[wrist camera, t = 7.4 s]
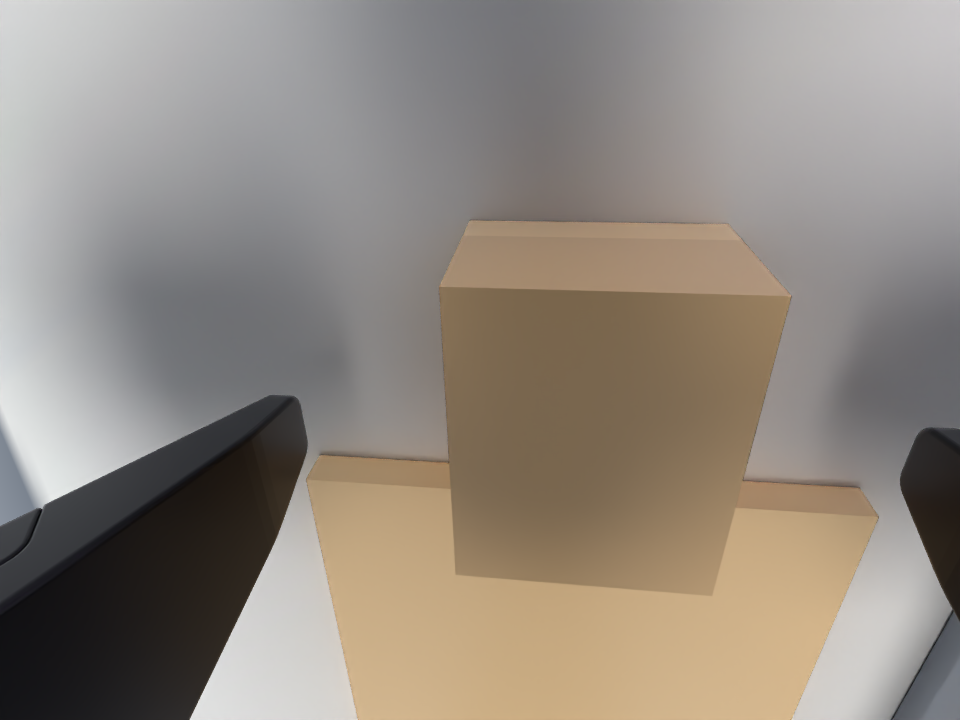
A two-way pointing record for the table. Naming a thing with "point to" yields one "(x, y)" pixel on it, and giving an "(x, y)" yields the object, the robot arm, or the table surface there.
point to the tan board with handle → (590, 496)
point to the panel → (937, 681)
